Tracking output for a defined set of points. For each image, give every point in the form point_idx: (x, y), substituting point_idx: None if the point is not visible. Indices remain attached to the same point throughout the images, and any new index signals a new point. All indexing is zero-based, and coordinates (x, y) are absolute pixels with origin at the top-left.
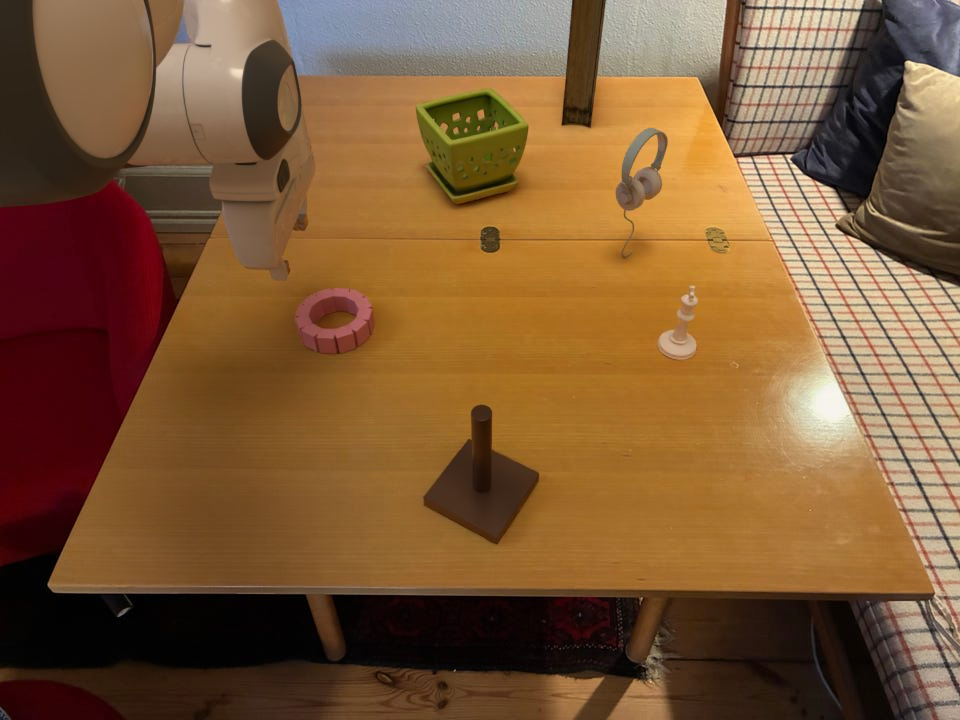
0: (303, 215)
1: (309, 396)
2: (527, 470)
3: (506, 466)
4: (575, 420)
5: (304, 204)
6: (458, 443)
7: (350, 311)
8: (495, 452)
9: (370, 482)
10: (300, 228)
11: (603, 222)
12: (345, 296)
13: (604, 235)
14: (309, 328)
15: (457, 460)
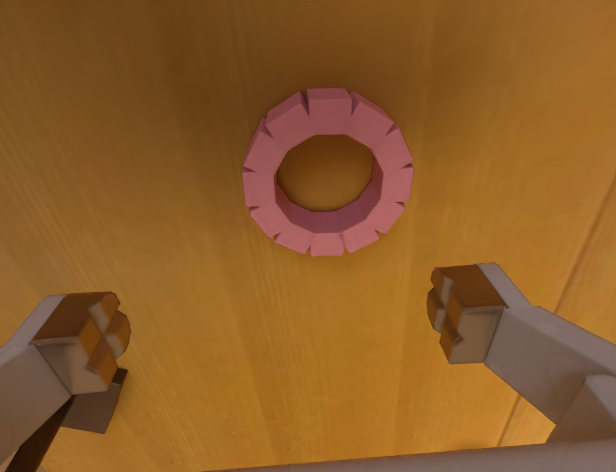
0: (477, 358)
1: (130, 165)
2: (102, 427)
3: (98, 414)
4: (201, 435)
5: (534, 400)
6: (127, 361)
7: (368, 188)
8: (112, 405)
9: (13, 290)
10: (432, 301)
11: (536, 438)
12: (381, 199)
13: (509, 440)
14: (268, 150)
15: None
